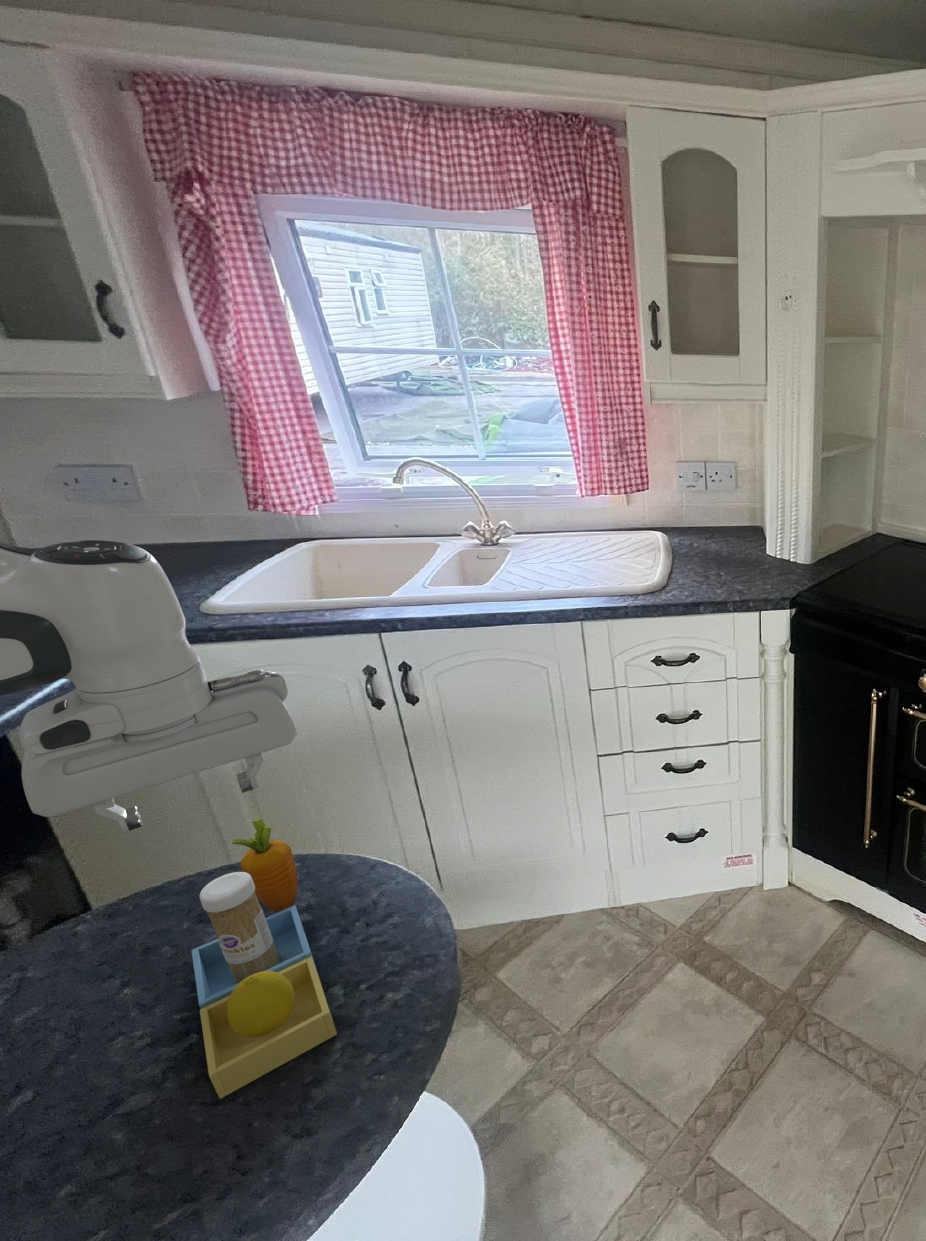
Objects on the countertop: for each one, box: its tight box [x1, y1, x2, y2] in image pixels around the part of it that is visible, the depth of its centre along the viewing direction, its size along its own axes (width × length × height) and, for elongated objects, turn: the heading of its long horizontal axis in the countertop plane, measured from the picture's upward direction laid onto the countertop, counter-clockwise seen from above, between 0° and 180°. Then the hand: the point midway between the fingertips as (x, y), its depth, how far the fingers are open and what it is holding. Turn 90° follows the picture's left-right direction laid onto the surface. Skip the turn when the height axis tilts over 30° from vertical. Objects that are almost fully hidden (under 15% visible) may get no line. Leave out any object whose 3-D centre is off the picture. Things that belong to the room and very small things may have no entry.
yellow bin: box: [199, 956, 338, 1100], centre depth 77 cm, size 10×10×4 cm
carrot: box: [231, 818, 298, 914], centre depth 90 cm, size 5×5×15 cm
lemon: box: [227, 971, 295, 1037], centre depth 76 cm, size 6×6×8 cm
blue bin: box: [190, 904, 319, 1010], centre depth 84 cm, size 10×10×4 cm
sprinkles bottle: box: [199, 871, 280, 983], centre depth 82 cm, size 5×5×13 cm
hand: (193, 806), depth 75 cm, fingers open, 8 cm apart
